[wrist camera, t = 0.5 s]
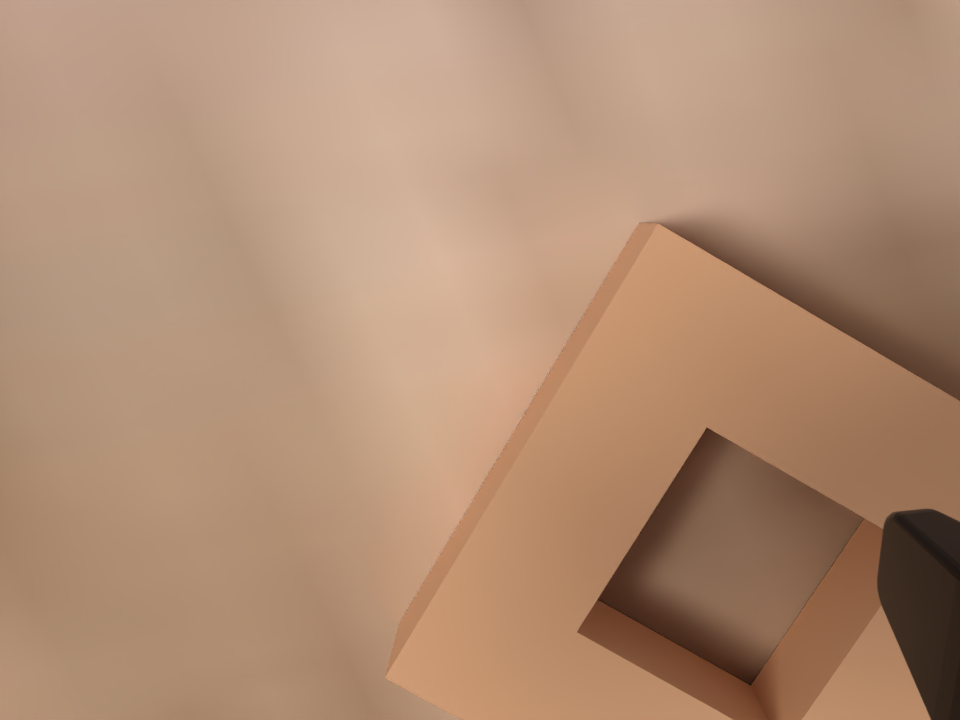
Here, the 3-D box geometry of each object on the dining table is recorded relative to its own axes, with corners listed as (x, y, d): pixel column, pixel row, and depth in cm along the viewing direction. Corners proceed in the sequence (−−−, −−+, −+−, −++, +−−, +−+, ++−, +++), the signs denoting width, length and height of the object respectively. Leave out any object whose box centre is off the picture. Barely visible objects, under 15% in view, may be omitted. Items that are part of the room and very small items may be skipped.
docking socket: (787, 839, 26) (823, 918, 23) (399, 624, 25) (384, 677, 22) (1052, 465, 24) (1128, 500, 21) (639, 223, 23) (658, 223, 20)
